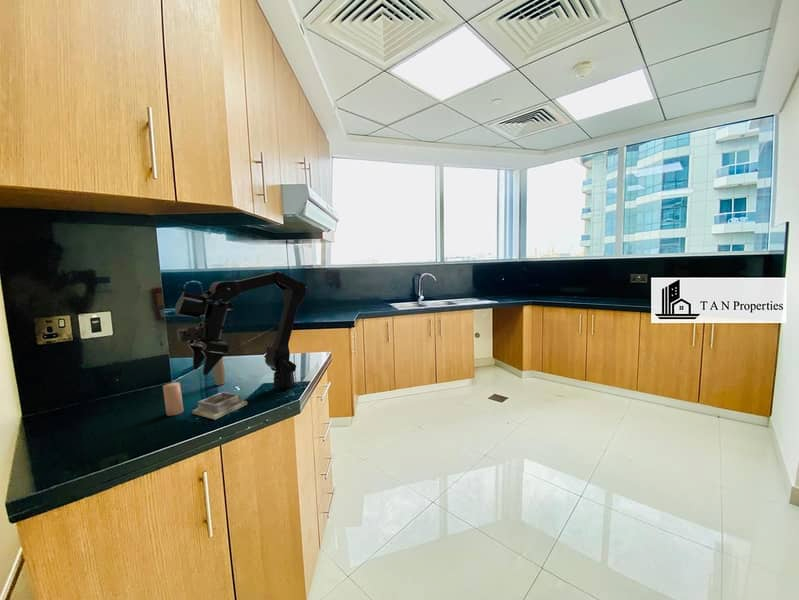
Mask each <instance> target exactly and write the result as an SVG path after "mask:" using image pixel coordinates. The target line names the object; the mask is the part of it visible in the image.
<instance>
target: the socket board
mask: <svg viewBox="0 0 799 600" xmlns="http://www.w3.org/2000/svg"><path fill="white" fill-rule="evenodd" d="M247 405H248V401H246V400H242V396H241V394H237V393H233V392H227V391H221V392H219V393H216V394H214V395H211V396H209V397H207V398H205V399H204V398H203V399H201V400H199V401H197V408H195V409H193V410H192V411H191V412H192V414H193V415H196V416H199V417H200V416H201V417H203V418H207V419H212V420H217V419H220V418H221V417H224V416H225V415H228V414H230V413H233V412H235V411H237V410H239V409H241V408H243V407H245V406H247Z"/></svg>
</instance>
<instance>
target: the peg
mask: <svg viewBox="0 0 799 600" xmlns="http://www.w3.org/2000/svg"><path fill="white" fill-rule="evenodd" d="M162 391H163V398H164V399H163V400H164V404H165V412H166V416H168V417H169V416H170V417H172V416H176V415H181V414H182V413H183V412H184V411H185V410H184V404H183V395H182V388H181V382H178V381H177V382H176V381H175V382H171V383H170V382H169V383H167V384H164V385H162Z"/></svg>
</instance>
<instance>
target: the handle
mask: <svg viewBox="0 0 799 600" xmlns="http://www.w3.org/2000/svg"><path fill="white" fill-rule="evenodd" d="M212 374H213V375H212V376H213V379H214V383H215V385H216V386H223V385H224V383H225V384H226V380H225V379H226V369H225V364H224V358H223V357H222V358H221V359H220V360H219V361H218V362H217V364H216V365H215V366H214V367H213V368H212ZM222 384H223V385H222Z"/></svg>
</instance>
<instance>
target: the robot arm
mask: <svg viewBox="0 0 799 600" xmlns="http://www.w3.org/2000/svg"><path fill="white" fill-rule="evenodd" d="M270 285H275V286H276V287H277V288H278V289H280V290H281V291H283V292H282V297H283V304H284V305H283V309H282V312H281V316H280V321H279V324H278V327H277V332H276V336H275V339H274V342H273V344H272V345H271V346H267V347H266V351H265V354H264V356H263V358H265V359H264V361H265V364H266V365H267V366H268V367H270V369H271V371H273V386H272V388H271V389H272V390H275V391H281V392H286V391H288V390H291V389H294V387H297V386H298V383H296V382H295V375H294V372H296V369H297V365H296V364H295V363H294V362H292V361H291V360H290V357H291V353H290V352H291V351H290V346H289V344H290V340H291V339H290V338H291V335H292V332H293V328H294V324H295V320H296V316H297V311H298V307H299V306H300V304H301V303H302V302H303V301H304V299H305V296H306V294H307V292H308V288H307V286H306V284H305V283H304V282H303V281H298V280H296V279H294V278H292V277H290V276H288V275H286V274H284V273H283V272H281V271H271V272H269V273H265V274H262V275H261V274H260V275H257V276H253V277H248V278H244V279H239V280H226V281H225V280H223V281H215V282H213V283H211V284H210V286H209V289H208V290H207V291H205V292H204V293H202V294H201V295H199V294H198V295H197V294H193V293H192V292H187V291H183V292H181V294H180V297H179V298H178V300H177V302H176V304H175V308H174V313H175V315H176V316H177V315H178V316H183V317H184V316H185V317H190V318H196V319H198V318H200V316H203V315H204V316H203V319H202V321H200V322H199V323H198V325H197V326H190V327H185V328H179V329H176V336H177V341H178V342H180V343H184V342H186V343H187V346H188V347H189V348H190V350H191V351H192V369H193V370H198V369H199V367H200V366H201V364H202V363H203V369H202V375H205V376H207V375H208V374H209V373H211V371H213V367H214V366H215V365H216V364H217V362H218V361H219V360H220V359H221V358H223V357H224V356H226V354H228V353H229V350H230V345H229V343H228V342H224V341H223V339H221V335H222V331H223V330H226V325H225V326H224V324H225V320H226V316H227V313H228V310H233V311H234V310H236V307H235V306H234V305H233V303H232V301H229V300H231V299H233V298H235V297H237V296H239V295H241V294H243V293H245V292H248V291H250V290H251V291H252V290H254V289H259V288H263V287H267V286H270ZM219 300H220V301H219ZM207 301H209V302H207ZM210 301H212V302H214V303H211V302H210ZM222 301H223V302H222ZM224 301H227V302H224Z"/></svg>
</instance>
